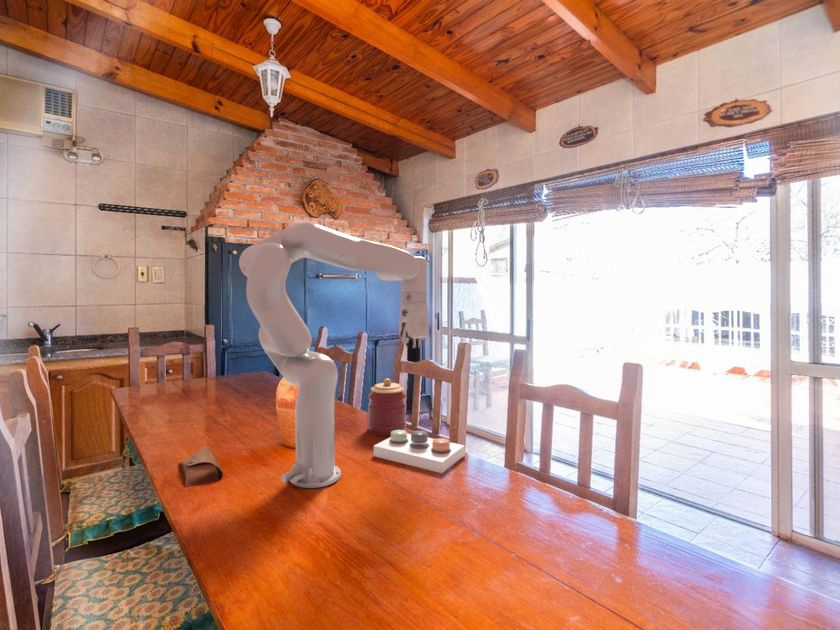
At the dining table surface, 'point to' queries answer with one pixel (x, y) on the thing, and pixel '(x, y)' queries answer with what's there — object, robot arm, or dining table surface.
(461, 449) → the panel
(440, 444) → the terracotta button
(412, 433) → the charcoal button
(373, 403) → the canister
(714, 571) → the dining table surface
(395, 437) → the sage button
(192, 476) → the sunglasses case
